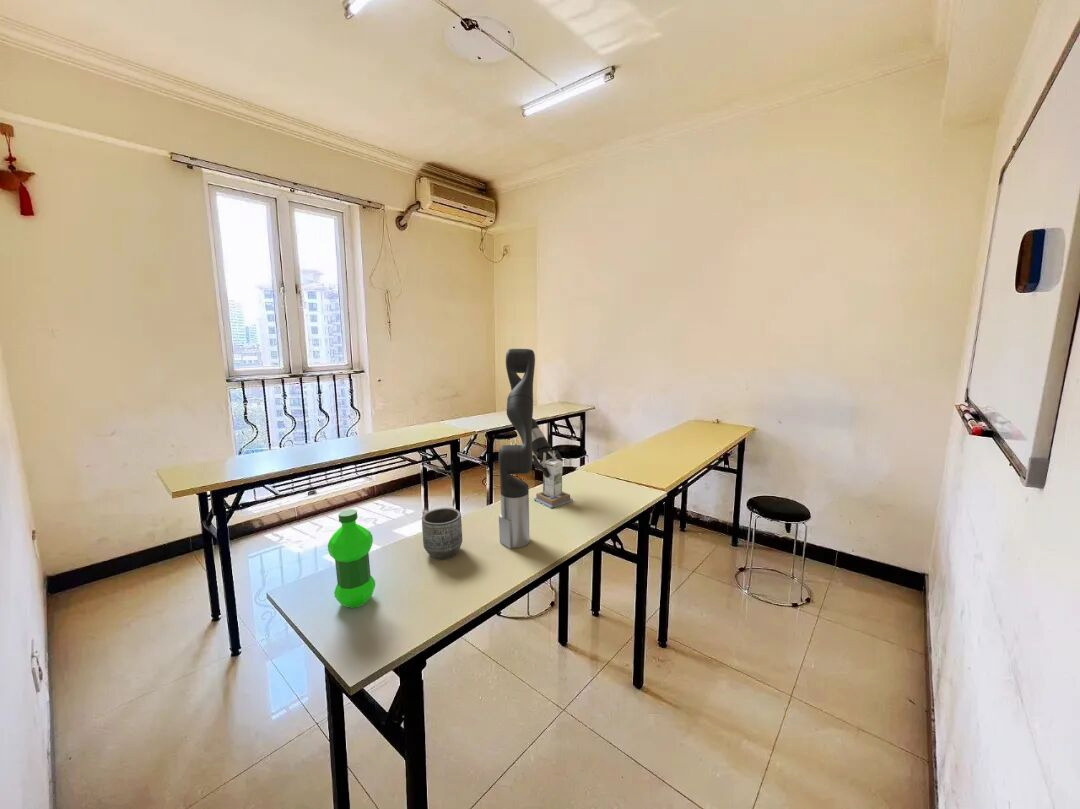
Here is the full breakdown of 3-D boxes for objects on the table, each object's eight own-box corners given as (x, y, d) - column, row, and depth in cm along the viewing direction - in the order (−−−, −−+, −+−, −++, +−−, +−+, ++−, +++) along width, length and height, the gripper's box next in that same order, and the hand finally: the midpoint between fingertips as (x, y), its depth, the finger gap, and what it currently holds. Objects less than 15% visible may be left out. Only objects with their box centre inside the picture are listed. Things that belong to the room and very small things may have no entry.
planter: (428, 567, 128) (426, 527, 126) (420, 549, 139) (417, 512, 136) (467, 556, 133) (466, 518, 131) (456, 540, 144) (455, 504, 142)
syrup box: (551, 490, 180) (551, 457, 177) (562, 493, 176) (562, 460, 174) (542, 494, 176) (542, 461, 173) (554, 498, 172) (554, 463, 169)
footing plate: (550, 508, 168) (550, 502, 168) (533, 500, 177) (533, 493, 176) (572, 500, 176) (572, 494, 175) (555, 493, 184) (555, 487, 184)
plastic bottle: (366, 585, 119) (358, 501, 115) (384, 601, 112) (376, 512, 108) (329, 602, 112) (319, 513, 108) (345, 620, 105) (335, 525, 101)
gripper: (527, 439, 173) (546, 474, 166) (554, 433, 182) (572, 466, 175) (519, 449, 178) (537, 483, 171) (546, 442, 187) (564, 475, 180)
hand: (555, 474), depth 173 cm, fingers closed on syrup box, 6 cm apart
